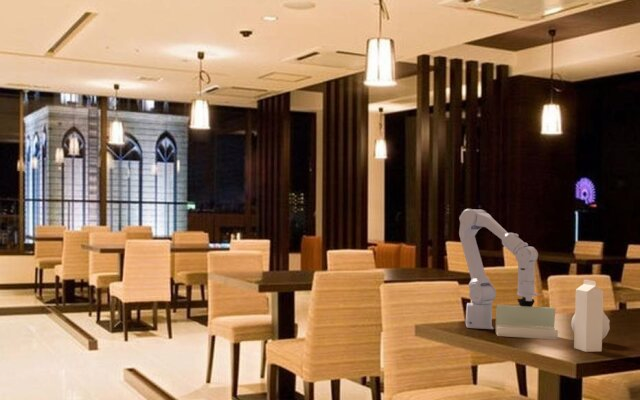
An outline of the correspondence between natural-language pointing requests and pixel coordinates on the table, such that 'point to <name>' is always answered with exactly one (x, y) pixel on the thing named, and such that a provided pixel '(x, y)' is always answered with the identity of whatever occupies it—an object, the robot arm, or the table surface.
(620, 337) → the table surface
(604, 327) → the decorative ball
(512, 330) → the cable duct
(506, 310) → the duct lid
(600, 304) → the milk
